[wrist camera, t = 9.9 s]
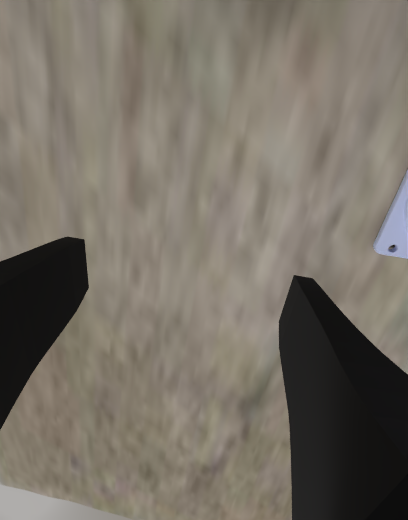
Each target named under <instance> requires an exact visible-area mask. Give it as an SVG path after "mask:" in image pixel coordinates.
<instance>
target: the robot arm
mask: <svg viewBox="0 0 408 520" xmlns="http://www.w3.org/2000/svg"><path fill="white" fill-rule="evenodd" d="M391 245H395V247H394V248H393V249H388V248H389V247H390V246H391ZM373 247H374V249H375V251H376V252H377V253H379V254H383V255H389V256H395V257H401V258H407V259H408V170H407V172H406V174H405V176H404V179H403V181H402V183H401V185H400V187H399V189H398V192H397V194H396V196H395V198H394V200H393V203H392V205H391V207H390V209H389V211H388V213H387V216H386V218H385V220H384V222H383V224H382V227H381V229H380V231H379V233H378V235H377V237H376V240H375V242H374V245H373ZM88 288H89V285H88V274H87V263H86V252H85V241H84V239H78V238H72V237H64V238H61V239H58V240H55V241H52V242H50V243H47V244H44V245H42V246H39V247H37V248H34V249H32V250H29V251H27V252H24V253H22V254H19V255H17V256H14V257H12V258H9V259H6V260H3V261H1V262H0V429H1V428H2V426H3V424H4V422H5V420H6V418H7V417H8V415H9V413H10V411H11V409H12V407H13V405H14V404H15V402H16V400H17V398H18V397H19V395H20V393H21V391H22V390H23V388H24V386H25V385H26V383H27V381H28V379H29V378H30V376H31V374H32V373H33V371H34V370H35V368H36V367H37V365H38V364H39V362H40V361H41V359H42V358H43V357H44V355H45V354H46V353H47V351H48V350H49V348H50V347H51V346H52V344H53V343H54V342H55V340H56V339H57V337H58V336H59V335H60V333H61V332H62V331H63V329H64V328H65V326H66V325H67V324H68V322H69V321H70V319H71V318H72V317H73V315H74V314H75V312H76V311H77V309H78V307H79V305H80V304H81V302H82V300H83V298H84V296H85V294H86V292H87V290H88ZM279 350H280V357H281V364H282V371H283V378H284V385H285V392H286V399H287V405H288V413H289V423H290V445H291V476H292V520H408V374H406V373H405V372H404V371H403V370H401V369H400V368H399V367H398V366H397V365H396V364H394V363H393V362H392V361H391V360H390V359H389V358H388V357H386V356H385V355H384V354H383V353H382V352H381V351H380V350H379V349H377V348H376V347H375V346H374V345H373V344H372V343H371V342H370V341H369V340H368V339H367V338H366V337H365V336H364V335H363V334H362V333H361V332H360V331H359V330H358V329H357V328H356V327H355V326H354V325H353V324H352V323H351V321H350V320H349V319H348V318H347V317H346V316H345V315H344V314H343V313H342V312H341V310H340V309H339V308H338V307H337V306H336V305H335V304H334V302H333V301H332V300H331V299H330V298H329V297H328V295H327V294H326V293H325V292H324V291H323V290H322V288H321V287H320V286H319V285H318V284H317V283H316V282H315V280H314V279H313V278H307V277H302V276H296V275H294V277H293V280H292V283H291V286H290V289H289V292H288V295H287V298H286V301H285V304H284V307H283V310H282V313H281V317H280V320H279Z"/></svg>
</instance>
